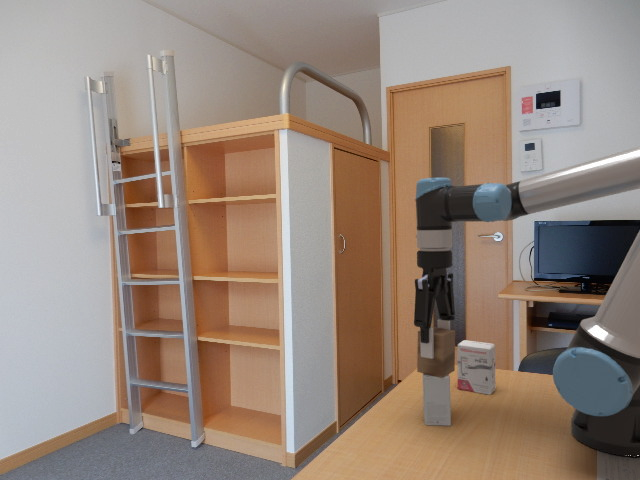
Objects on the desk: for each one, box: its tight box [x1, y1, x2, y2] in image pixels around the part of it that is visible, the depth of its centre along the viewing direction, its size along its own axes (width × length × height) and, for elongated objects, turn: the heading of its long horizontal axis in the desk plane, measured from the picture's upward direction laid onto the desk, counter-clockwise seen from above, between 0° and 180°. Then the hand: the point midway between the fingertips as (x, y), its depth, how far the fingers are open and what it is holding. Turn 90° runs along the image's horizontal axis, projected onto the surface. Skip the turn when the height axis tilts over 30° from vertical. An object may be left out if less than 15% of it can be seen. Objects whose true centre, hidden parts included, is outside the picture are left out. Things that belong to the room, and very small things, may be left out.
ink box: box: [457, 339, 496, 396], centre depth 121 cm, size 9×5×12 cm, turn 55°
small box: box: [422, 373, 452, 427], centre depth 104 cm, size 8×6×10 cm
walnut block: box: [416, 326, 456, 378], centre depth 104 cm, size 6×6×9 cm
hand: (435, 352), depth 104 cm, fingers open, 7 cm apart
